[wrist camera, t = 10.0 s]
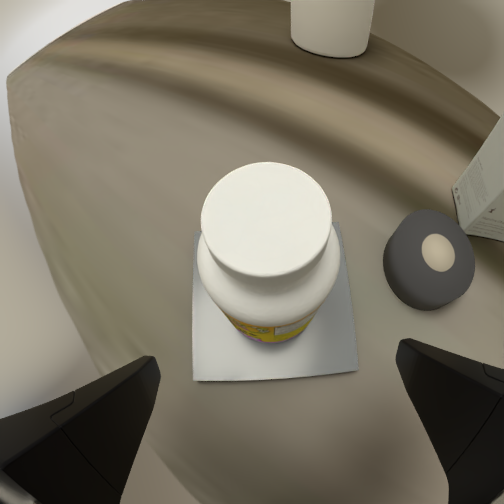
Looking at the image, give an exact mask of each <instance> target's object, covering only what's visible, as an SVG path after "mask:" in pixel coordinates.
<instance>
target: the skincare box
mask: <svg viewBox="0 0 504 504" xmlns="http://www.w3.org/2000/svg"><path fill="white" fill-rule="evenodd" d="M452 191H453V195H454V199H455V203H456V209H457V215H458V221H459V226H460V227H461V228H462V230H463V231H464V232H465V234H470V235H477V236H482V237H487V238H492V239H496V240H500V241H503V242H504V113H503V114H502V116H501V117H500V119H499V121H498V122H497V124H496V125H495V127H494V129H493V130H492V132H491V133H490V135H489V136H488V138H487V139H486V141H485V142H484V144H483V145H482V147H481V148H480V150H479V151H478V153H477V154H476V156H475V157H474V158H473V160H472V161H471V163H470V164H469V165H468V167H467V168H466V169H465V171H464V172H463V174H462V175H461V176H460V178H459V179H458V180H457V182H456V183H455V184H454V185H453V187H452Z"/></svg>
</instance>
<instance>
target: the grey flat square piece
mask: <svg viewBox="0 0 504 504" xmlns="http://www.w3.org/2000/svg"><path fill="white" fill-rule="evenodd" d="M332 225H333V227H334V229H335V232H336V234H337V237H338V241H339V246H340V267H339V272H338V275H337V279H336V281H335V284H334V286H333V288H332V290H331V291H330V293H329V295H328V296H327V298H326V299H325V301H324V302H323V304H322V305H321V307H320V308H319V310H318V311H317V313H316V314H315V315H314V317H313V318H312V320H311V321H310V323H309V324H308V325H307V327H306V328H305V329H304V330H303V331H302V332H300V333H299V334H298V335H296V336H294V337H293V338H291V339H288V340H286V341H283V342H278V343H263V342H258V341H255V340H252V339H250V338H248V337H246V336H245V335H243V334H242V333H241V332H239V331H238V330H237V329H236V328H235V327H234V326H233V324H232V323H231V322H230V321H229V320H228V318H227V317H226V316H225V315H224V314H223V312H222V311H221V310H220V309H219V307H218V306H217V305H216V304H215V303H214V301H213V300H212V299H211V297H210V296H209V294H208V293H207V291H206V289H205V288H204V286H203V283H202V281H201V278H200V275H199V270H198V264H197V250H198V243H199V239H200V236H201V233H202V231H196V232H195V235H194V262H193V314H192V342H193V381H240V380H265V379H281V378H294V377H306V376H316V375H325V374H334V373H341V372H349V371H356V370H359V368H358V356H357V346H356V336H355V327H354V318H353V310H352V302H351V294H350V287H349V280H348V274H347V267H346V261H345V255H344V249H343V243H342V238H341V232H340V227H339V222H332Z"/></svg>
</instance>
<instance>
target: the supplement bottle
mask: <svg viewBox="0 0 504 504" xmlns="http://www.w3.org/2000/svg"><path fill="white" fill-rule="evenodd" d="M201 229H202V233H201V236H200V239H199V243H198V250H197V264H198V270H199V275H200V278H201V281H202V283H203V286H204V288H205V289H206V291H207V293H208V294H209V296H210V297H211V299H212V300H213V301H214V303H215V304H216V305H217V306H218V307H219V309H220V310H221V311H222V312H223V314H224V315H225V316H226V317H227V318H228V320H229V321H230V322H231V323H232V324H233V326H234V327H235V328H236V329H237V330H238V331H239V332H241V333H242V334H243V335H245V336H246V337H248V338H250V339H252V340H255V341H258V342H263V343H278V342H283V341H286V340H288V339H291V338H293V337H294V336H296V335H298V334H299V333H300V332H302V331H303V330H304V329H305V328H306V327H307V325H308V324H309V323H310V321H311V320H312V318H313V317H314V315H315V314H316V313H317V311H318V310H319V308H320V307H321V305H322V304H323V302H324V301H325V299H326V298H327V296H328V295H329V293H330V291H331V290H332V288H333V286H334V284H335V281H336V279H337V275H338V272H339V267H340V246H339V241H338V237H337V234H336V232H335V229H334V227H333V225H332V213H331V208H330V204H329V201H328V198H327V196H326V195H325V193H324V191H323V190H322V188H321V187H320V185H319V184H318V183H317V182H316V181H315V180H314V179H313V178H311V177H310V176H309V175H307V174H306V173H304V172H303V171H301V170H299V169H297V168H294V167H292V166H289V165H285V164H281V163H273V162H261V163H254V164H249V165H246V166H243V167H240V168H238V169H236V170H234V171H232V172H230V173H229V174H227V175H226V176H224V177H223V178H222V179H221V180H220V181H219V182H218V183H217V184H216V185H215V186H214V187H213V188H212V189H211V191H210V192H209V194H208V196H207V198H206V200H205V202H204V205H203V209H202V213H201Z"/></svg>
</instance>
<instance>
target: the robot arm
mask: <svg viewBox="0 0 504 504" xmlns="http://www.w3.org/2000/svg"><path fill="white" fill-rule="evenodd" d="M396 364H397V367H398V369H399V372H400V375H401V378H402V380H403V383H404V386H405V388H406V391H407V393H408V395H409V397H410V399H411V401H412V403H413V405H414V407H415V409H416V411H417V413H418V415H419V417H420V419H421V421H422V423H423V425H424V428H425V430H426V432H427V434H428V436H429V438H430V440H431V442H432V445H433V447H434V449H435V451H436V453H437V456H438V458H439V460H440V462H441V465H442V467H443V469H444V471H445V473H446V476H447V479H448V484H449V502H448V504H504V369H501V368H497V367H494V366H491V365H488V364H485V363H483V364H482V363H481V362H478V361H475V360H472V359H469V358H466V357H463V356H460V355H457V354H454V353H451V352H448V351H445V350H442V349H440V348H437V347H434V346H431V345H428V344H425V343H422V342H420V341H417V340H414V339H411V338H407V339H402V340H401V341H400V342H399V346H398V350H397V354H396ZM160 379H161V374H160V370H159V367H158V364H157V361H156V359H155V357H154V356H143V357H141V358H139V359H137V360H135V361H133V362H131V363H129V364H127V365H125V366H123V367H121V368H119V369H117V370H115V371H113V372H111V373H109V374H107V375H105V376H103V377H101V378H99V379H97V380H95V381H93V382H91V383H89V384H87V385H85V386H83V387H81V388H79V389H77V390H75V392H74V391H72V392H70V393H68V394H66V395H63V396H61V397H59V398H56V399H54V400H52V401H49V402H47V403H44V404H42V405H39V406H36V407H33V408H31V409H28V410H25V411H22V412H20V413H16V414H14V415H11V416H8V417H5V418H2V419H0V504H120V500H121V495H122V493H123V490H124V488H125V485H126V482H127V479H128V476H129V473H130V471H131V468H132V465H133V462H134V459H135V457H136V454H137V451H138V448H139V446H140V443H141V440H142V437H143V435H144V432H145V429H146V427H147V424H148V421H149V419H150V416H151V413H152V411H153V408H154V404H155V400H156V396H157V391H158V387H159V383H160Z"/></svg>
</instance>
